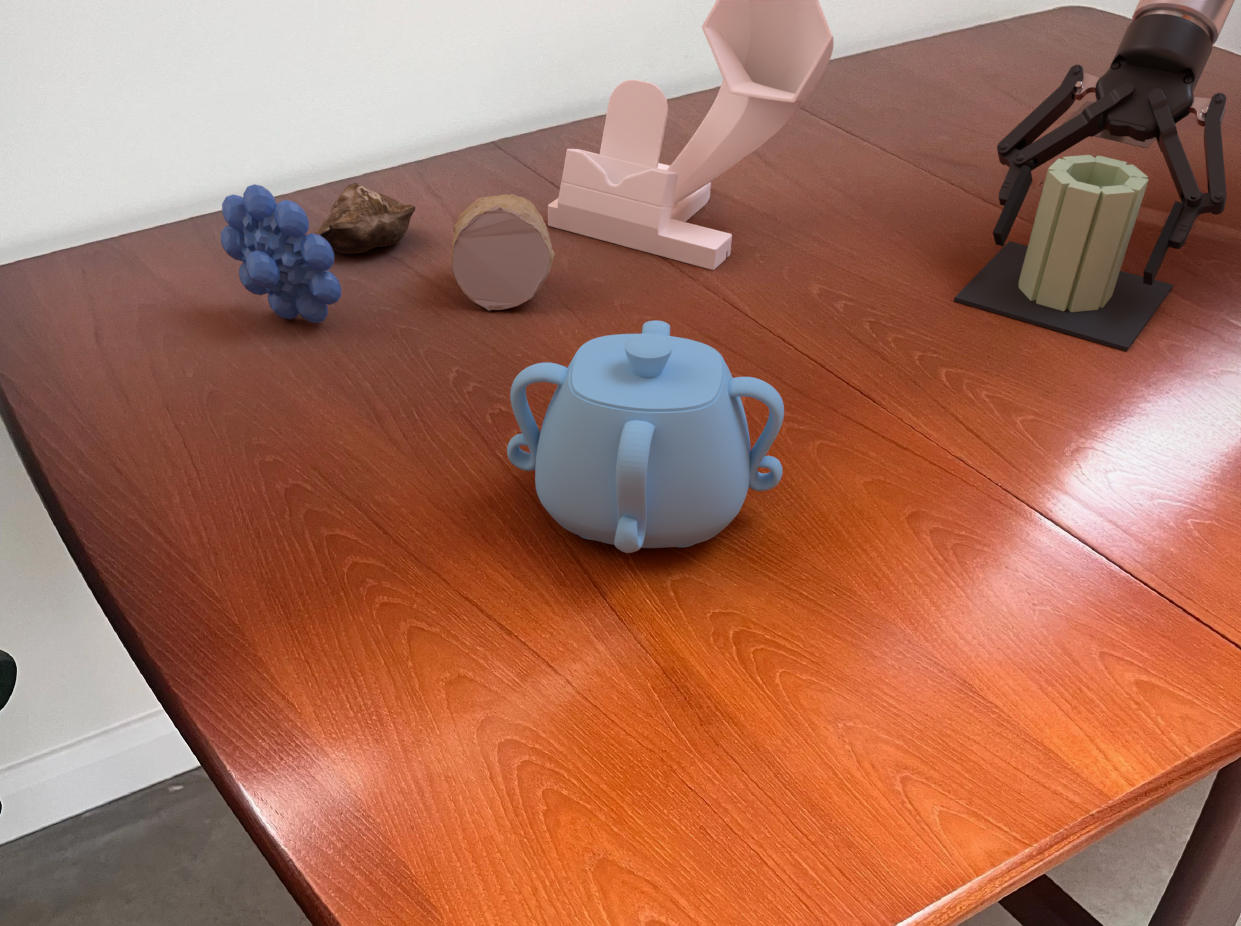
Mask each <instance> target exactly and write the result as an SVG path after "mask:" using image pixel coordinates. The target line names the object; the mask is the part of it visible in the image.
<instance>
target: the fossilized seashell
mask: <svg viewBox="0 0 1241 926" xmlns="http://www.w3.org/2000/svg"><path fill="white" fill-rule="evenodd" d="M415 211H416V206H415V205H413V204H405V203H403V202H400V201H398V200H396V199H394V198H393V197H390V196H388V195H385V194H382V193H379V192H377V191H373V190H370V189H368V188H366V187H365V186H363V185H361V184H359V183H357V182H353V183H350V184H348V185H347V186H346V187H345V188H344V189H343V191H342V192H341V193H340V194H339V196H338V197H337V198H336V200H335V201H334V203H333V205H332V207H331V209H330V212H329V215H327V216H326V218H324V219H323V221H322V224H321V225H320V226H319V228H318V229H317V231H316V233H315V234H317V235H320V236H322V237H323V238H325V239H326V240H327V241H328V243H329V244H330V245H331V247H332V249H333V252H336V253H339V254H349V255H353V254H362V253H366V252H369V251H371V250H373V249H375V248H385V247H392V246H393V245H395V244H396V243H397V242H400V241H401V239H403V237H404V236H405V234H406V232H407V231H408V229H409V226H410V222H411V218H412V216H413V214H414V213H415Z"/></svg>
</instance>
